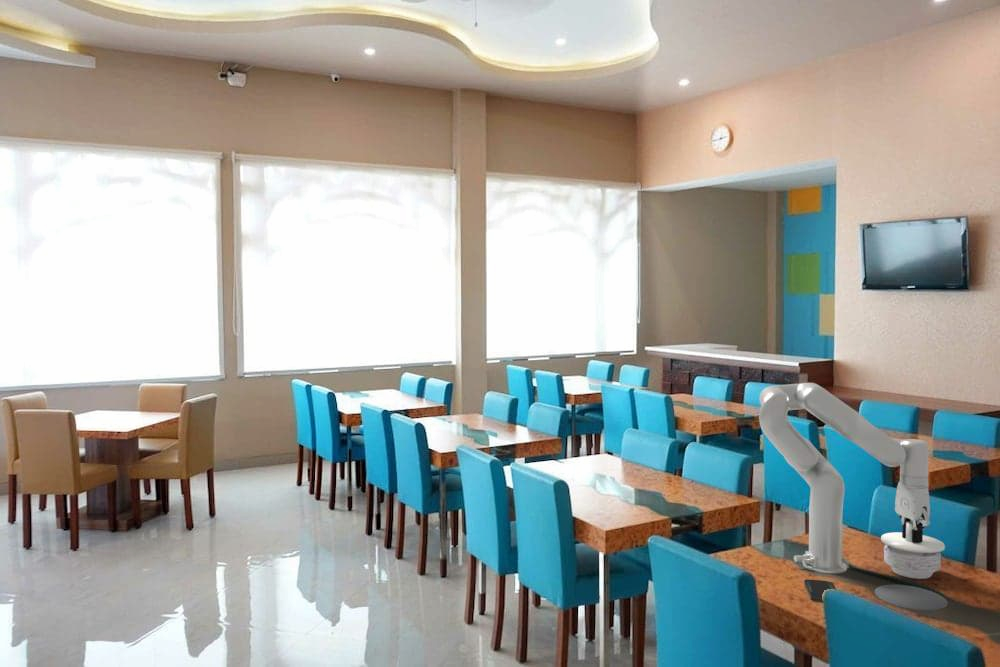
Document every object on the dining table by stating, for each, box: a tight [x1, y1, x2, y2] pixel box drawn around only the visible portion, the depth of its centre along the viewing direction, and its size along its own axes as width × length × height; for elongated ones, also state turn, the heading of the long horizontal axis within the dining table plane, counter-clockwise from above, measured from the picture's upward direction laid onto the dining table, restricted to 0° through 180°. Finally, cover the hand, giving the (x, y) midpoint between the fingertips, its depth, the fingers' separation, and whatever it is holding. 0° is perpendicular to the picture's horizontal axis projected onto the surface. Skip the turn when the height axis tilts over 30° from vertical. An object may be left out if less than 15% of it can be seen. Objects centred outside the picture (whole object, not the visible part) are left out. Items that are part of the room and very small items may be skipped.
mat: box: [874, 584, 948, 611], centre depth 212 cm, size 18×18×1 cm
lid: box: [880, 520, 946, 553], centre depth 230 cm, size 17×17×6 cm
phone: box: [804, 578, 836, 603], centre depth 217 cm, size 8×1×15 cm
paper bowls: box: [883, 544, 942, 580], centre depth 231 cm, size 15×15×8 cm
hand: (912, 539), depth 230 cm, fingers closed on lid, 3 cm apart
